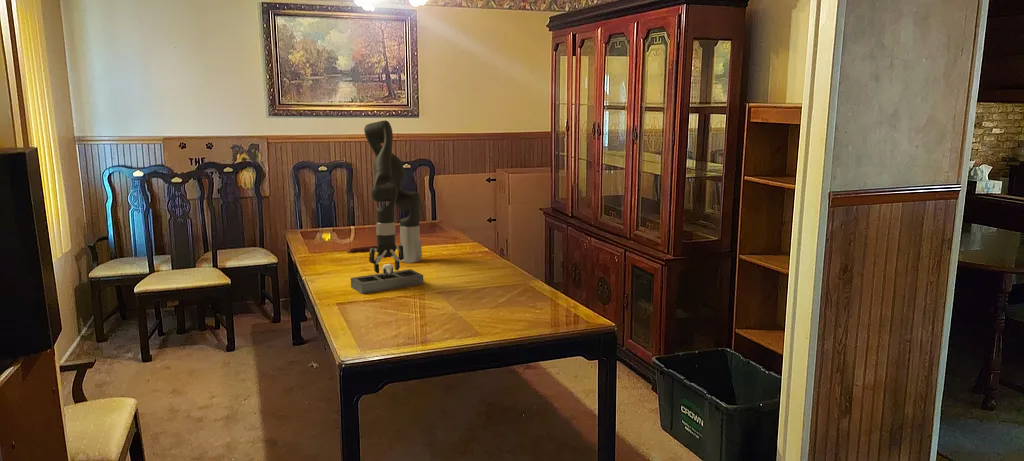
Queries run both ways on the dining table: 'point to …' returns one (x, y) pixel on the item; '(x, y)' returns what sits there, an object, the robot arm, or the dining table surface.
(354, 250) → the gavel
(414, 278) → the three-window grey frame
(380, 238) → the robot arm
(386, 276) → the milkshake
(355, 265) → the dining table surface
